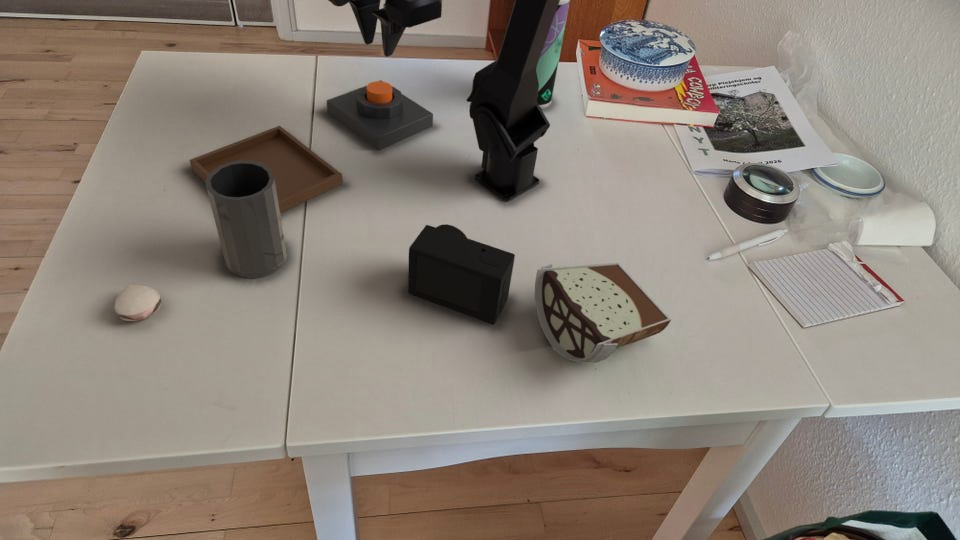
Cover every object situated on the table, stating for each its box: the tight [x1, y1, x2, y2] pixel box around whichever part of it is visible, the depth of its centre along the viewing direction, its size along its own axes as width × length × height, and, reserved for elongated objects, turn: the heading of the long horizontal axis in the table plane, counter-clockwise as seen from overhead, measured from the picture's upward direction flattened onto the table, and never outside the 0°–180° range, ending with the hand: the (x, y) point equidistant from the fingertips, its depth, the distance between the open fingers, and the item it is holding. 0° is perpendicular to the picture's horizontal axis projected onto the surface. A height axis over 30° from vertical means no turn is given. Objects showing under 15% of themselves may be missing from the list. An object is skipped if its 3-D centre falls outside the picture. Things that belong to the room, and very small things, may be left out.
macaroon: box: [113, 283, 162, 322], centre depth 68 cm, size 4×5×2 cm
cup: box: [205, 161, 287, 279], centre depth 72 cm, size 7×7×11 cm
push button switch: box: [326, 79, 434, 151], centre depth 96 cm, size 12×10×4 cm
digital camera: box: [407, 223, 516, 325], centre depth 72 cm, size 10×5×7 cm, turn 68°
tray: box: [189, 125, 344, 214], centre depth 85 cm, size 14×13×2 cm
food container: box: [534, 262, 672, 364], centre depth 70 cm, size 12×6×10 cm
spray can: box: [536, 0, 571, 110], centre depth 99 cm, size 6×6×20 cm
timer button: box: [366, 80, 393, 104], centre depth 95 cm, size 4×4×2 cm
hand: (378, 49), depth 90 cm, fingers open, 4 cm apart
